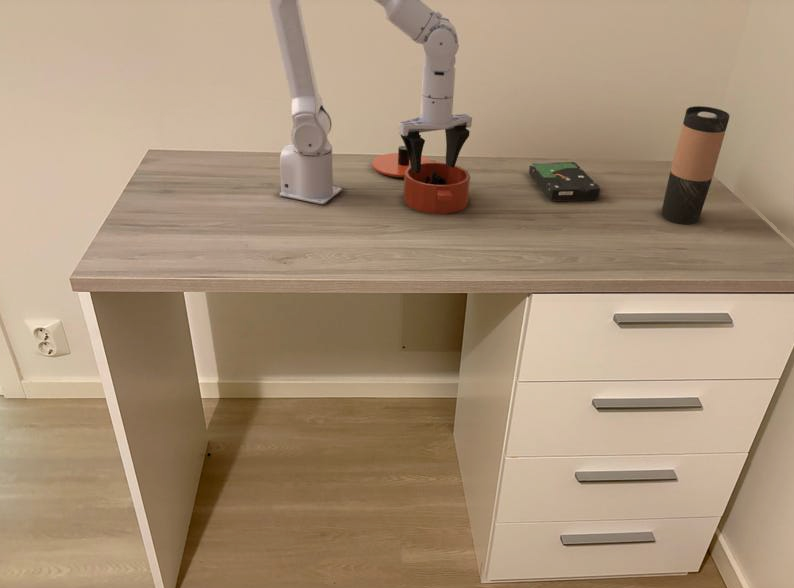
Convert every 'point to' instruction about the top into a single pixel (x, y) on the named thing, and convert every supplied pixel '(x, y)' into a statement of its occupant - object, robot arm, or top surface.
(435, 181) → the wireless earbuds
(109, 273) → the top surface
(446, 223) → the top surface
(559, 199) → the disk drive
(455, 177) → the pan
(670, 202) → the travel mug
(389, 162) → the lid
